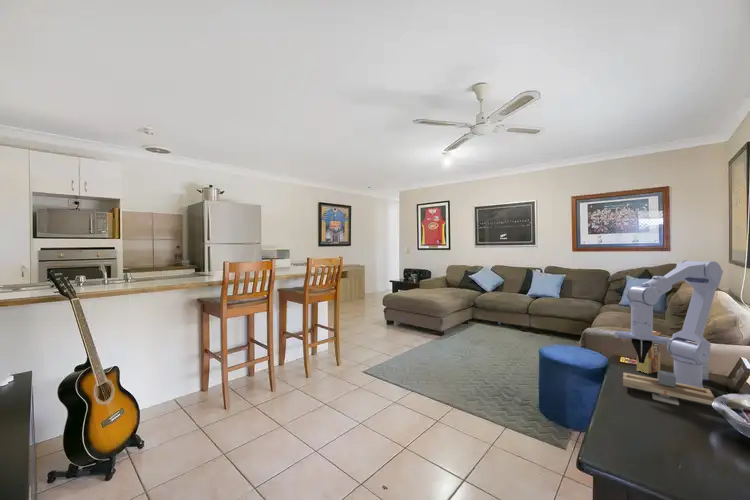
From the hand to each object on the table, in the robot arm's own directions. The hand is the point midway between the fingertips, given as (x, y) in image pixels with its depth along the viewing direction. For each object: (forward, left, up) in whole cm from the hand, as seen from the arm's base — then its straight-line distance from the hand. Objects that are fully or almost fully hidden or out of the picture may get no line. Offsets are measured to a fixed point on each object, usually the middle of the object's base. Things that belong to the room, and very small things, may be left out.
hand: (641, 362), depth 108 cm
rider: (+2, +6, -6) cm, 9 cm away
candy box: (-25, +3, -10) cm, 26 cm away
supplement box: (-27, +16, -10) cm, 33 cm away
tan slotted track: (+2, +6, -9) cm, 11 cm away
